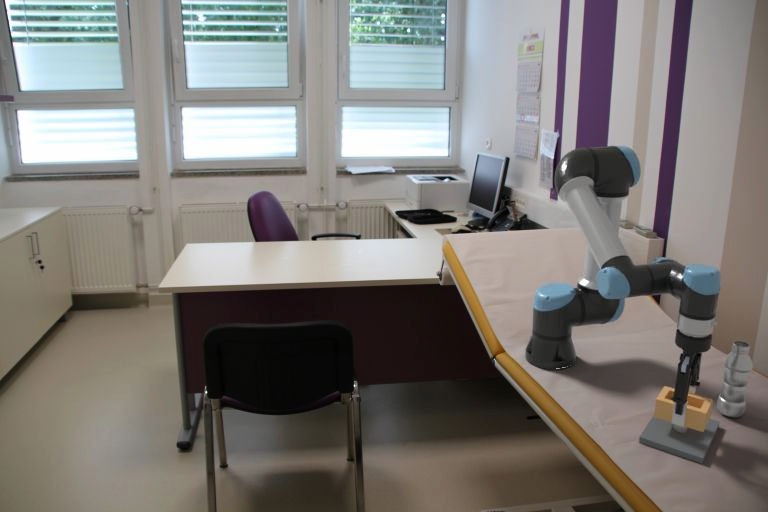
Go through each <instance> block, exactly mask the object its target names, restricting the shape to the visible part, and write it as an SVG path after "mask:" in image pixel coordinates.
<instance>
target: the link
mask: <svg viewBox="0 0 768 512" xmlns="http://www.w3.org/2000/svg"><path fill="white" fill-rule="evenodd" d="M674 390H675V387H674V388H673V387H669V386H667V385H664V386H663V388H662V389H661V391H660V392H659V394H658V395H657V397H656V398H655V405H654V412H653V415H654V417H656V418H659V419H662V420H665V421H669V422H672V415H673V408H674V402H673V400H671V397H673V396H674ZM687 401H688V404H687V410H686V417H685V424H684V426H685V427H688V428H691V429H694V430H698V431H701V432H704V429H705V427H706V425H707V423H708V421H709V419H711V417H712V416H711V415H712V410H713V402H714V399H713V398H710V397H705V396H701V395H699V394H696V393H695V394H691V393H688V397H687Z"/></svg>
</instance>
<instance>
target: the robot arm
mask: <svg viewBox="0 0 768 512" xmlns="http://www.w3.org/2000/svg"><path fill="white" fill-rule="evenodd" d="M641 174H642V172H641V163H640V159H639V157H638V156H637V153H636V152H635V151H634V150H633V149H632V148H630V147H629V146H626V145H609V146H608V145H607V146H594V147H592V146H591V147H579V148H575V149H572V150H571V151H568V152H567V153H566V154H565V155H563V157H562V158H560V159H559V162H558V164H557V166H556V169H555V171H554V186H555V191H556V193H557V194H558V197H559V199H560V200H561V201H562V202H564V203H566V204H567V205H568V208H569V210H570V211H571V214H572V216H573V219H574V220H575V222H576V224H577V226H578V228H579V230H580V232H581V234H582V236H583V239H584V240H585V242H586V246H585V254H584V267H583V274H582V275H580V276H579V277H578V278H577V282H576V283H577V285H576V287H574V286H573V285H572V284H570V283H566V282H551V283H546V284H543V285H541V286H539V287H538V288H537V290H536V291H535V292H534V298H533V302H532V307H533V309H532V330H531V336H530V337H529V340H528V343H527V345H526V347H525V353H524V357H525V360H526V361H527V362H528V363H529V364H531V365H533V366H535V367H538V368H541V369H544V368H546V369H545V370H552V369H556V368H562V367H567V366H570V365H572V366H574V365H575V364H574V363H576V362H577V352H576V349H575V346H574V345H575V344H574V342H573V338H572V336H573V335H572V333H573V328H575V327H582V326H583V327H584V326H585V327H586V326H593V325H605V324H608V323H613V322H616V321H618V320H619V319H620V318H621V316H622V315H623V313H624V309H625V304H626V303H625V302H626V300H625V299H627V298H636V297H637V298H638V297H645V296H647V297H648V296H649V297H650V296H658V295H666V294H667V295H671V296H672V297H674V298H676V299H678V300H679V308H678V314H677V321H676V327H677V328H676V330H675V338H674V339H675V340H674V342H675V345H676V346H677V348H679V349H681V350H682V353H680V355H679V362H678V363H677V373H676V374H677V375H676V379H675V384H674V389H675V390H674V396H673V397H671V400H673V402H674V408H673V415H672V422H671V423H673V424H676V425H679V426H682V427H684V424H685V417H686V410H687V404H688V401H687V397H688V393H691V394H695V395H696V391H697V389H696V388H697V387H700V386H701V382H700V381H699V379H700V369H701V363H702V357H703V356H702V355H703V354H702V353H706V352H709V350H710V349H711V348H712V347H711V346H712V340H713V331H714V327H717V325H718V323H717V321H715V318H716V314H717V308H718V307H717V306H718V303H719V302H718V301H719V295H720V291H721V288H722V287H721V279H722V278H721V277H722V273H721V271H720V270H719V269H718V268H716V267H715V266H710V265H707V264H699V263H695V264H689V265H687V266H686V265H684V264H682V263H680V262H678V261H677V260H674V259H671V258H669V257H665V256H663V257H661V256H660V257H656V258H655V259H654V260H652V261H650V263H647V264H636V265H635V263H634V262H633V260H632V259H631V257H630V255H629V253H628V251H627V249H626V248H625V245H624V244H623V242H622V240H621V238H620V237H619V235H620V233H619V232H620V224H621V214H622V206H623V201H624V200H626V198H628V197H629V195H630V188H633V187H635V186H636V185H637V184H638V182H640V179H641ZM573 364H574V365H573Z"/></svg>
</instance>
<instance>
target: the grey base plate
mask: <svg viewBox="0 0 768 512" xmlns="http://www.w3.org/2000/svg"><path fill="white" fill-rule="evenodd" d="M719 427H720V421H718V420H716V419H711V418H710V419H709V421H708V423H707V425H706V427H705V429H704V432H701V431H698V430H694V429H691V428H688V427H685V426H684V427H682V426H679V425H676V424H673V423H671V422H669V421H665V420H662V419H659V418H656V417H654V414H653V415H652V417H651V418H650V420H649V422H647V424H646V427H645V428H644V429H643V431H642V432H641V434H640V436H639V439H638V443H641V444H643V445H645V446H649V447H651V448H655V449H657V450H661V451H663V452H667V453H670V454H672V455H675V456H678V457H681V458H684V459H686V460H688V461H689V460H690V461H693V462H696V463H698V464H701V465H702V464H703V463H704V461H705V458H706V456H707V454H708V452H709V449H710V448H711V445H712V443H713V441H714V438H715V436H716V434H717V432H718V430H719Z"/></svg>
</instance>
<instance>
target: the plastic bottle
mask: <svg viewBox="0 0 768 512" xmlns="http://www.w3.org/2000/svg"><path fill="white" fill-rule="evenodd" d="M750 348H751V345H750V344H749V343H748V342H747V341H743V340H735V341H733V342H732V346H731V352H729V353H728V354H727V355H726V356H725V358H724V360H723V381H722V386H721V389H720V393H719V395H718V398H717V400H716V408H717V410H718V411H719V413H720V414H722V415H723V416H726V417H729V418H739V417H741V416H743V415H744V412H745V411H746V405H747V404H746V394H747V393H746V392H747V385H748V381H749V379H750V376H751V373H752V372H753V371H752V370H753V367H754V364H753V360H752V358H751V357H750V355H749V353H750Z"/></svg>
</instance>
